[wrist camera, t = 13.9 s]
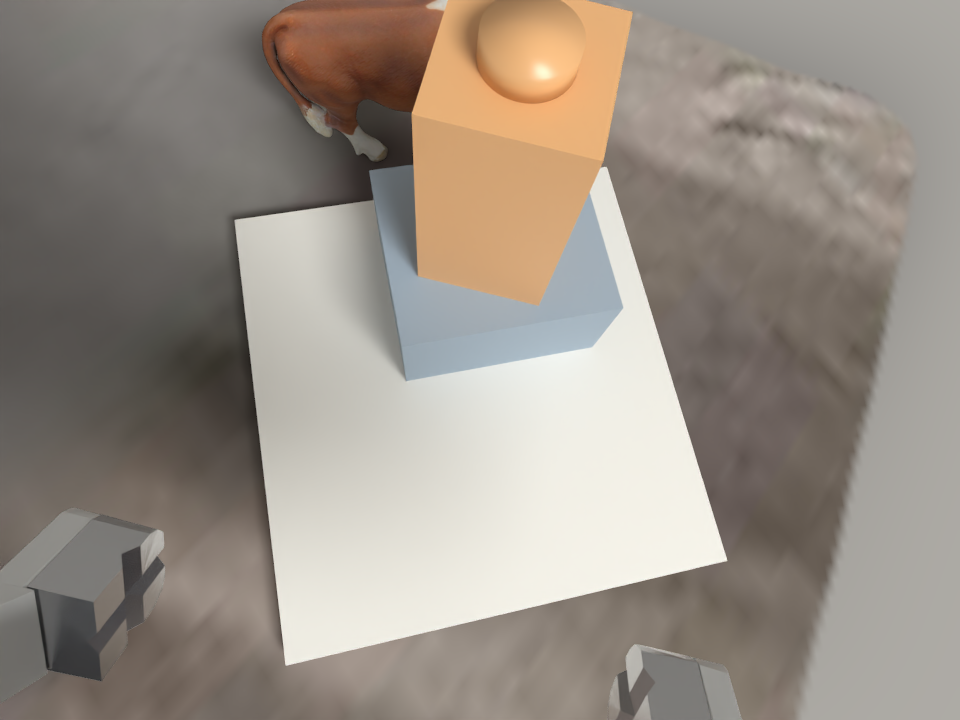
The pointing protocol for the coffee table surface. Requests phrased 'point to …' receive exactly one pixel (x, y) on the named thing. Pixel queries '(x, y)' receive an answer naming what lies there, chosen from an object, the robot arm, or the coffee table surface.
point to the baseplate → (452, 449)
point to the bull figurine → (352, 59)
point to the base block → (488, 296)
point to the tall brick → (511, 137)
